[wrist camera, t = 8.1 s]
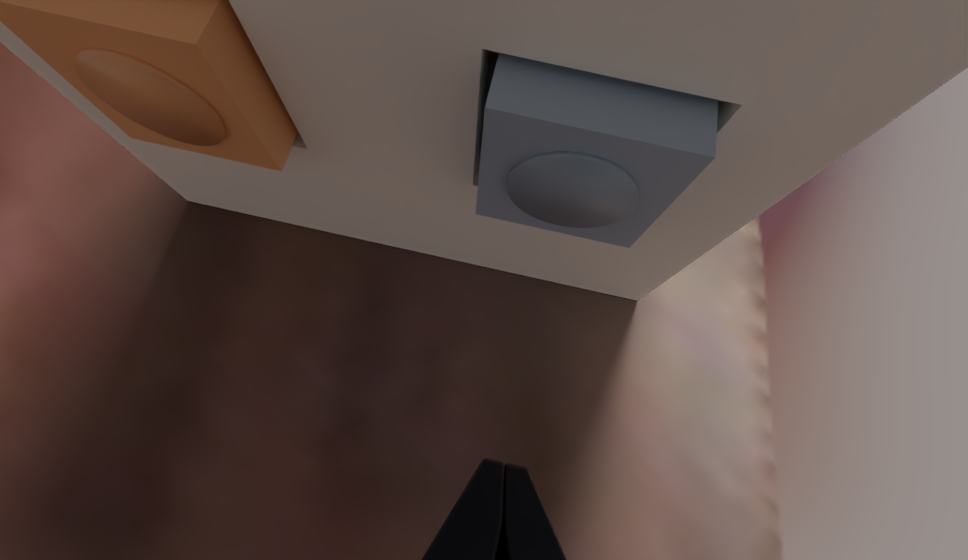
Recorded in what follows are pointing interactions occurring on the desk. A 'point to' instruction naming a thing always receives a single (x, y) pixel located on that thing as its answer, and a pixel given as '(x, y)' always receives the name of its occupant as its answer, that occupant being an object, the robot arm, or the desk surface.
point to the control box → (570, 43)
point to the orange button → (163, 72)
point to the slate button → (588, 150)
